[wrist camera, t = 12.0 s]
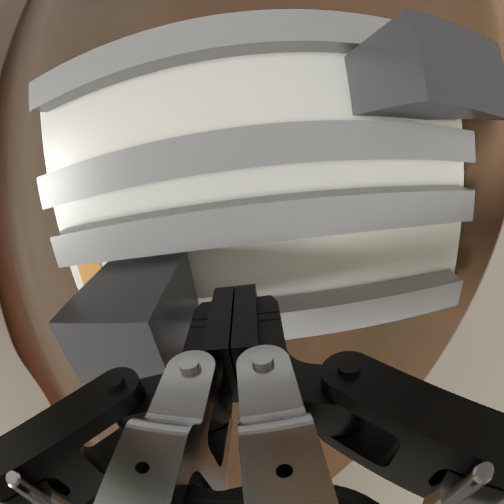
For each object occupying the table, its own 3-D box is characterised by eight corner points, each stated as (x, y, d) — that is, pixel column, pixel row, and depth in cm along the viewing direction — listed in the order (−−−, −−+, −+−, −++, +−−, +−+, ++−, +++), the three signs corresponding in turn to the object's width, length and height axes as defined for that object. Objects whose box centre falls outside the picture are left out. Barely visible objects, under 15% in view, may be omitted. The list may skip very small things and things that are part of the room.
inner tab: (343, 56, 9) (407, 7, 4) (418, 66, 9) (497, 43, 4) (352, 115, 10) (428, 100, 5) (425, 120, 10) (512, 120, 5)
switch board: (59, 82, 11) (22, 75, 8) (428, 43, 10) (462, 30, 7) (111, 323, 17) (90, 356, 14) (433, 286, 16) (460, 313, 13)
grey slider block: (111, 258, 13) (48, 322, 7) (186, 249, 13) (147, 322, 7) (126, 307, 14) (81, 382, 8) (198, 302, 14) (174, 389, 8)
